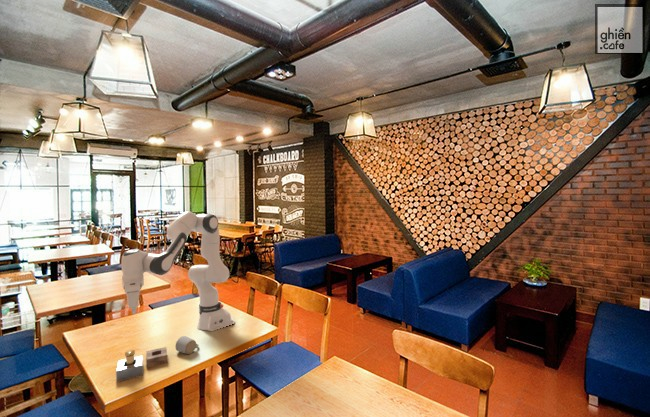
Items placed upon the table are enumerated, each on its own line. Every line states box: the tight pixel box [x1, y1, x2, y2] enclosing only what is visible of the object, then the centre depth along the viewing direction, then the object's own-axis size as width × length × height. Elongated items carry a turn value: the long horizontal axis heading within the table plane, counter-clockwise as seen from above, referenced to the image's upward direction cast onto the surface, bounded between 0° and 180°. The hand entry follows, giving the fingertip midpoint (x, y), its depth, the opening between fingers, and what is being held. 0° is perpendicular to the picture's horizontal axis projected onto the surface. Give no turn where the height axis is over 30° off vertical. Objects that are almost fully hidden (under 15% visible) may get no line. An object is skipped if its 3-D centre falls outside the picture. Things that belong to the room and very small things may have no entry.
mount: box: [145, 346, 168, 368], centre depth 153 cm, size 9×9×4 cm
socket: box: [115, 355, 144, 383], centre depth 143 cm, size 10×10×5 cm
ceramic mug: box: [175, 335, 199, 355], centre depth 163 cm, size 11×8×8 cm
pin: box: [124, 349, 136, 366], centre depth 143 cm, size 4×4×10 cm
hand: (134, 310), depth 150 cm, fingers open, 8 cm apart
